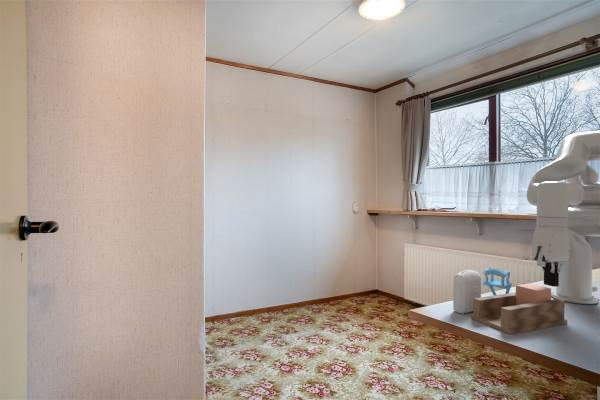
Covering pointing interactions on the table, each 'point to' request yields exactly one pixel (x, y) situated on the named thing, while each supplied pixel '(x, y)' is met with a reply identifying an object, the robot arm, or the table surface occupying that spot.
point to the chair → (495, 283)
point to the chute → (517, 313)
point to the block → (531, 293)
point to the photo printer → (466, 290)
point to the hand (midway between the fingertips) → (551, 285)
